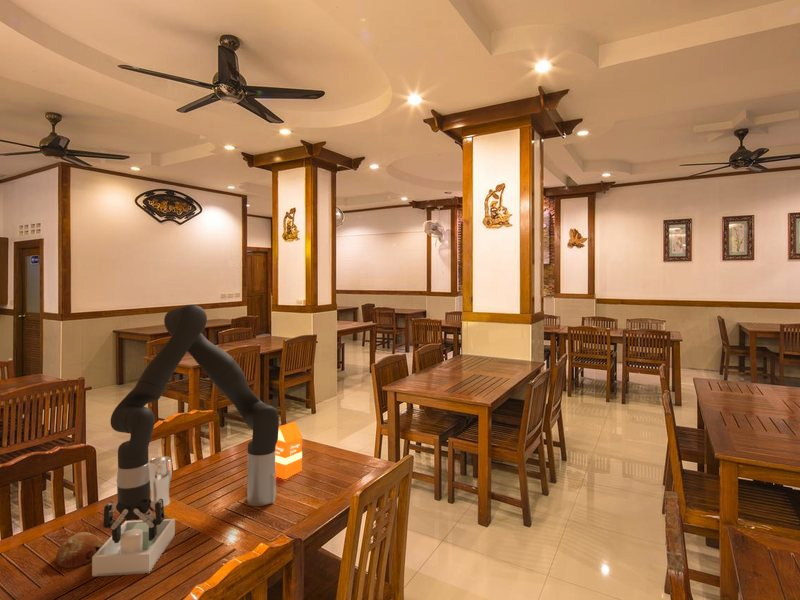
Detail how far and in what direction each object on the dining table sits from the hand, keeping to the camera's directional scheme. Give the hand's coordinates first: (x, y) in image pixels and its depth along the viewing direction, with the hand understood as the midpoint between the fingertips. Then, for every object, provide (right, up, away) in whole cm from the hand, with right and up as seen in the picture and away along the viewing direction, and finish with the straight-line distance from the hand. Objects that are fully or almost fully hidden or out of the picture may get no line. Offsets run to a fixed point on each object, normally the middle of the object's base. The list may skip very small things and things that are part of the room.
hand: (134, 540), depth 121 cm
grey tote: (-1, -5, +3) cm, 6 cm away
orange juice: (+26, -4, +57) cm, 63 cm away
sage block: (-2, -5, +6) cm, 8 cm away
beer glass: (-10, -5, +31) cm, 33 cm away
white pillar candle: (-1, -5, 0) cm, 5 cm away
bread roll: (-15, -6, +2) cm, 16 cm away
